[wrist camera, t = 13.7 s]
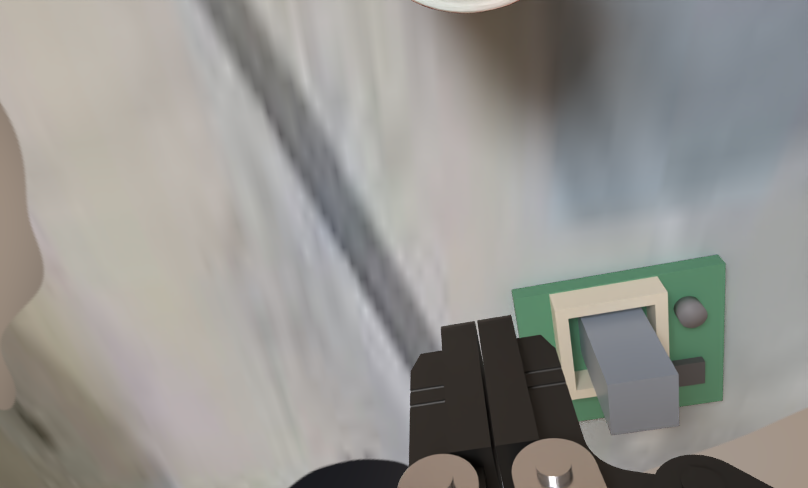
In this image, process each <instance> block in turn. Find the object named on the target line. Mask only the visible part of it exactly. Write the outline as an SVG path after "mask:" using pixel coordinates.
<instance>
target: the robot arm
mask: <svg viewBox="0 0 808 488" xmlns="http://www.w3.org/2000/svg"><path fill="white" fill-rule="evenodd" d="M477 322H478V329H479V336H480V343H481V350H482V355H481V350H480V345H479V340H478V335H477V330H476V325H475V321H472V322H466V323H460V324H454V325H448V326H442V327H441V338H442V351H436V352H430V353H424V354H420V356H419V358H418V360H417V361H416V363H415V365H414V367H413V368H412V370H411V384H410V390H411V393H410V406H411V408H410V443H409V468H408V469H407V470H406V471H405V472H404V474H403V475H402V477H401V479H400V481H399V484H398V488H503V486H504V488H773V487H771V486H769V485H767V484H765V483H764V482H762V481H760V480H758V479H756V478H754V477H752V476H751V475H749V474H747V473H745V472H743V471H741V470H739V469H737V468H736V467H733V466H732V465H730V464H728V463H726V462H724V461H722V460H719V459H716V458H713V457H709V456H704V455H684V456H679V457H676V458H673V459H671V460H669V461H667V462H665V463H664V464H663V465H662V466H661V467H660V468H659V469H658V470H657V472H656V474H648V473H641V472H633V471H628V470H623V469H620V468H616V467H614V466H611V465H609V464H607V463H605V462H604V461H602V460H600V459H599V458H598V457H597V456H595V455H594V454H593V453H592V451H591V450H590V449H589V448H588V446H587V445H586V442H585V440H584V438H583V434H582V431H581V428H580V425H579V422H578V418H577V415H576V412H575V409H574V406H573V402H572V399H571V396H570V393H569V390H568V386H567V384H566V380H565V377H564V374H563V370H562V368H561V364H560V361H559V358H558V354H557V351H556V348H555V347H554V346H552V345H551V344H550V343H549V342H548V341H547V340H546V339H545V338H544V337H543V336H542V335H535V336H528V337H522V338H516V334H515V330H514V326H513V321H512V317H511V315H508V316H502V317H496V318H489V319H483V320H477ZM482 357H483V360H482ZM483 364H484V365H483ZM501 477H502V478H501ZM502 482H503V485H502Z"/></svg>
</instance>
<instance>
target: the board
mask: <svg viewBox="0 0 808 488" xmlns="http://www.w3.org/2000/svg"><path fill="white" fill-rule="evenodd" d="M725 264H726V263H725V262H724V261H723V260H722V259H721V258H720V257H719V255H713V256H707V257H701V258H695V259H689V260H684V261H678V262H672V263H666V264H660V265H654V266H648V267H643V268H637V269H631V270H625V271H619V272H613V273H607V274H601V275H596V276H590V277H584V278H578V279H572V280H566V281H560V282H555V283H549V284H543V285H537V286H531V287H525V288H519V289H513V290H512V296H513V302H514V308H515V314H516V320H517V327H518V333H519V338H522V337H528V336H535V335H542V336H543V337H544V338H545V339H546V340H547V341H548V342H549V343H550V344H551V345H552V346H554V347H555V348H556V351H557V354H558V358H559V361H560V364H561V368H562V370H563V374H564V377H565V380H566V384H567V386H568V390H569V393H570V396H571V399H572V402H573V406H574V409H575V412H576V415H577V418H578V421H584V420H591V419H598V418H605V416H604V414H603V411H602V408H601V405H600V403H599V400H598V397H597V395H596V392H595V389H594V386H593V384H592V381H591V378H590V376H589V373H588V370H587V367H586V365H585V362H584V359H583V356H582V354H581V345H580V335H579V326H578V317H582V316H588V315H595V314H601V313H607V312H613V311H619V310H625V309H631V308H637V307H641V308H642V310H643V312H644V313H645V315H646V317H647V319H648V321H649V322H650V324H651V326H652V328H653V329H654V331H655V333H656V335H657V337H658V338H659V340H660V342H661V344H662V346H663V347H664V349H665V351H666V353H667V354H668V356H669V358H670V360H671V362H672V363H673V365H674V367H675V369H676V371H677V372H678V374H679V407H681V406H688V405H695V404H702V403H709V402H716V401H723V356H724V310H725Z"/></svg>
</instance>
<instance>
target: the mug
mask: <svg viewBox="0 0 808 488" xmlns="http://www.w3.org/2000/svg"><path fill="white" fill-rule="evenodd" d="M412 1H413V2H416V3H418V4H420V5H422V6H425V7H428V8H431V9H435V10H440V11H445V12H452V13H478V12H484V11H489V10H494V9H498V8H501V7H504V6H508V5H511V4H513V3H515V2H517V1H520V0H412Z"/></svg>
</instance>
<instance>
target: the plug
mask: <svg viewBox="0 0 808 488" xmlns="http://www.w3.org/2000/svg"><path fill="white" fill-rule="evenodd" d="M578 326H579V335H580V345H581V354H582V356H583V359H584V362H585V365H586V367H587V370H588V373H589V376H590V378H591V381H592V384H593V386H594V389H595V392H596V395H597V397H598V400H599V403H600V405H601V408H602V411H603V414H604V416H605V419H606V422H607V425H608V427H609V430H610V433H611V435H617V434H625V433H632V432H639V431H646V430H654V429H661V428H668V427H675V426H679V374H678V372H677V371H676V369H675V367H674V365H673V363H672V362H671V360H670V358H669V356H668V354H667V353H666V351H665V349H664V347H663V346H662V344H661V342H660V340H659V338H658V337H657V335H656V333H655V331H654V329H653V328H652V326H651V324H650V322H649V321H648V319H647V317H646V315H645V313H644V312H643V310H642V308H641V307H637V308H631V309H625V310H619V311H613V312H607V313H601V314H595V315H588V316H582V317H578Z"/></svg>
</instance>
